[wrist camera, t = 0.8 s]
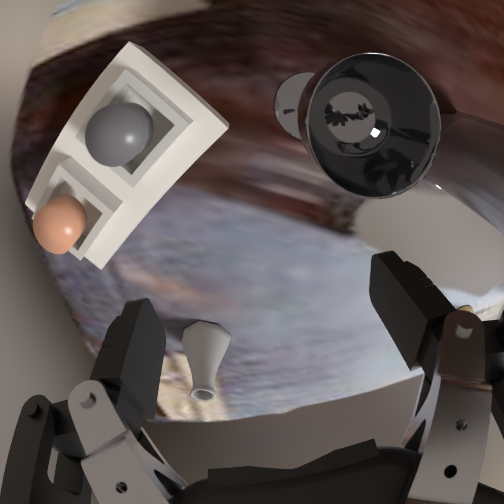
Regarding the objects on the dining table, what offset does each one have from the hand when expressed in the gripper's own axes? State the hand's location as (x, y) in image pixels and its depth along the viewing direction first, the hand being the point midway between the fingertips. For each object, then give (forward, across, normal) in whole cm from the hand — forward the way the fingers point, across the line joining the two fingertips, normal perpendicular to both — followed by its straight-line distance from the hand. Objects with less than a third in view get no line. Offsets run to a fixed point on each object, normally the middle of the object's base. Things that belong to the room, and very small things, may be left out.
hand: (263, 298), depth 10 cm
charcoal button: (+14, +8, -6) cm, 17 cm away
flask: (+22, +9, +23) cm, 34 cm away
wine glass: (+21, -8, -5) cm, 23 cm away
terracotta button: (+15, +16, -1) cm, 22 cm away
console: (+21, +12, -4) cm, 24 cm away
